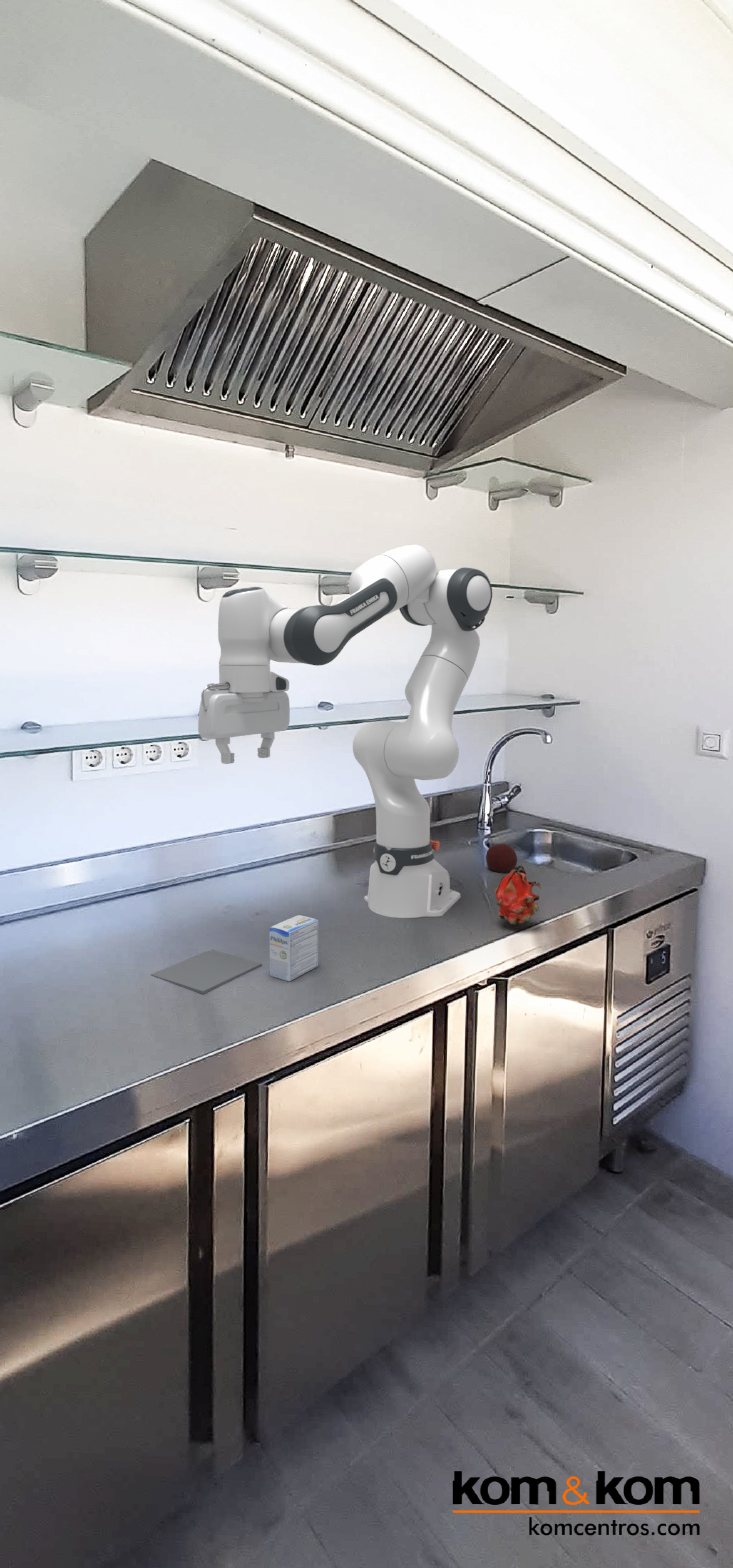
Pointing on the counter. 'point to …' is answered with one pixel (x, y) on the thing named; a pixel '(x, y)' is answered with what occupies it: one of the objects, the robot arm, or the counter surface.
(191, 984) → the mat
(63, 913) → the counter surface
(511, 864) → the dark brown ball
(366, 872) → the counter surface
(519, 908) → the dragon fruit
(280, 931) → the medicine box
